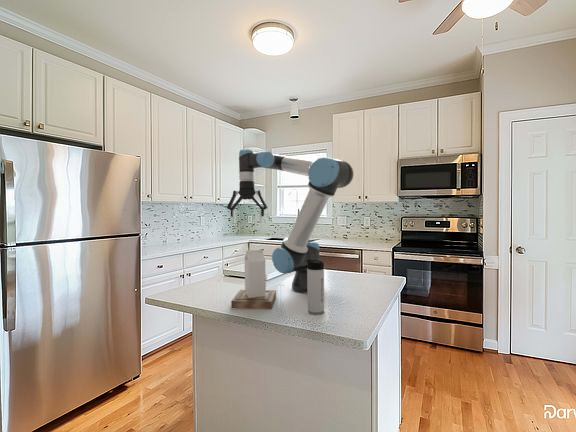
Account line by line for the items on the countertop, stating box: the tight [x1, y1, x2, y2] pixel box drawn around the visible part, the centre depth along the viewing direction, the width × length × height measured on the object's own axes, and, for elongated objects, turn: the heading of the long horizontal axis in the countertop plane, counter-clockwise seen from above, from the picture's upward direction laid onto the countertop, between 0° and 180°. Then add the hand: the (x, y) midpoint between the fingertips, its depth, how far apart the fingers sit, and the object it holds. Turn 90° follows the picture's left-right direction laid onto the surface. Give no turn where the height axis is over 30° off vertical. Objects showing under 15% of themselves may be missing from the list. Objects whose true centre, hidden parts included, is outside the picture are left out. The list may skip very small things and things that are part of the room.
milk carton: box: [244, 249, 267, 298], centre depth 129 cm, size 7×7×19 cm
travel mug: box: [306, 260, 325, 316], centre depth 116 cm, size 6×7×20 cm
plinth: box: [230, 289, 277, 310], centre depth 129 cm, size 16×16×3 cm
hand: (247, 223), depth 155 cm, fingers open, 13 cm apart
